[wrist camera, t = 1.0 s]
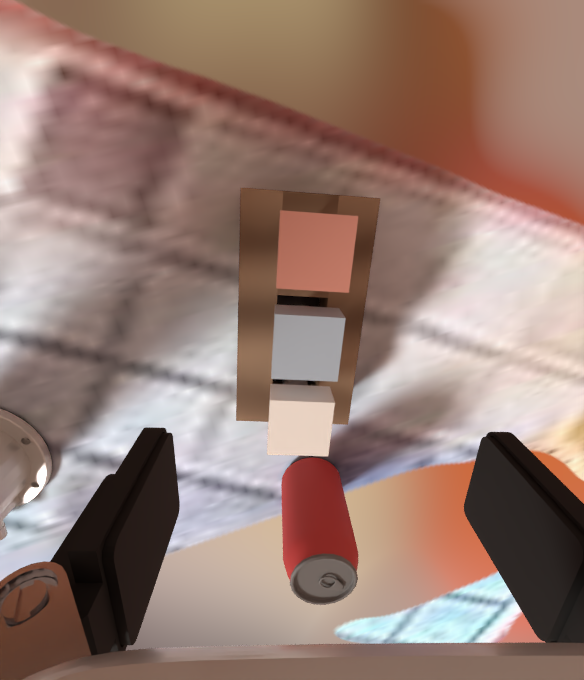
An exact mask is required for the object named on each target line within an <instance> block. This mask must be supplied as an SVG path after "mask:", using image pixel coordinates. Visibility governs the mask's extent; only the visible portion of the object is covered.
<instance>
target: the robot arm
mask: <svg viewBox="0 0 584 680" xmlns="http://www.w3.org/2000/svg"><path fill="white" fill-rule="evenodd" d="M51 472H52V460H51V455H50V452H49V450H48V447H47V445H46V443H45V442H44V440H43V439H42V437H41V436H40V435H39V434H38V433H37V432H36V431H35V430H34V428H33V427H32V426H30V425H29V424H28V423H26V422H25V421H24V420H22V419H21V418H19V417H17V416H16V415H14V414H12V413H10V412H8V411H5V410H2V409H0V540H2V539H3V538H5V537H6V535H7V530H6V526H5V523H4V522H3V519H4V518H5V517H6V516H7V514H8V513H9V512H10V511H11V510H12V509H13V508H14V507H18V506H21V505H23V504H25V503H28V502H30V501H31V500H32V499H34V498H35V497H36V496H37V495H38V494H39V493H40V492H41V491H42V490H43V488H44V487H45V486H46V484H47V483H48V481H49V479H50V476H51ZM464 511H465V515H466V517H467V519H468V521H469V522H470V524H471V526H472V528H473V529H474V531H475V533H476V534H477V536H478V538H479V539H480V541H481V543H482V544H483V546H484V548H485V549H486V551H487V553H488V554H489V556H490V558H491V560H492V561H493V563H494V565H495V566H496V568H497V570H498V571H499V573H500V575H501V576H502V578H503V580H504V582H505V583H506V585H507V587H508V588H509V590H510V592H511V593H512V595H513V597H514V598H515V600H516V602H517V603H518V605H519V607H520V609H521V610H522V612H523V614H524V615H525V617H526V618H527V620H528V622H529V624H530V625H531V627H532V629H533V630H534V632H535V634H536V635H537V636H538V638H539V639H541V640H542V641H545V642H546V643H393V644H310V645H309V644H308V645H247V646H204V647H177V648H151V649H139V650H127V651H125V650H126V647H127V645H133V644H134V643H135V641H136V639H137V636H138V633H139V630H140V628H141V624H142V622H143V619H144V615H145V613H146V610H147V607H148V603H149V600H150V598H151V595H152V592H153V589H154V586H155V583H156V580H157V577H158V574H159V571H160V568H161V565H162V562H163V559H164V556H165V553H166V550H167V547H168V544H169V541H170V538H171V535H172V532H173V529H174V526H175V523H176V520H177V517H178V513H179V493H178V483H177V474H176V464H175V454H174V444H173V436H172V433H167V432H166V429H165V428H144V429H143V430H142V432H141V433H140V435H139V437H138V438H137V440H136V441H135V443H134V445H133V446H132V448H131V450H130V451H129V453H128V454H127V456H126V458H125V459H124V461H123V462H122V464H121V466H120V467H119V469H118V470H117V472H116V474H110V475H108V476H106V478H105V479H104V480H103V482H102V483H101V485H100V486H99V488H98V489H97V491H96V492H95V494H94V495H93V497H92V498H91V500H90V501H89V503H88V505H87V506H86V508H85V509H84V511H83V512H82V514H81V515H80V517H79V518H78V520H77V521H76V523H75V524H74V526H73V528H72V529H71V531H70V532H69V534H68V535H67V537H66V538H65V540H64V541H63V543H62V544H61V546H60V547H59V549H58V551H57V552H56V554H55V555H54V557H53V558H52V560H51V561H50V562H39V563H34V564H30V565H28V566H25V567H23V568H20V569H18V570H17V571H15V572H13V573H12V574H10V575H8V576H7V577H5V578H4V579H3V580H2V581H1V582H0V680H584V504H583V503H582V502H581V501H580V500H579V499H578V498H577V497H576V496H575V495H574V494H573V493H572V492H571V491H570V490H569V489H568V488H567V487H566V486H565V485H564V484H563V483H562V482H561V481H560V480H559V479H558V478H557V477H556V476H555V475H554V474H553V473H552V472H551V471H550V470H549V469H548V468H547V467H546V466H545V465H544V464H542V463H541V461H540V460H538V458H537V457H536V456H535V455H533V453H532V452H531V451H530V450H529V449H528V448H527V447H525V446H524V445H523V444H522V443H521V442H520V441H519V440H518V439H517V438H516V437H515V436H514V435H513V434H512V433H509V432H489V433H488V434H487V435H486V437H483V438H482V440H481V442H480V446H479V450H478V454H477V458H476V461H475V465H474V469H473V473H472V477H471V481H470V485H469V488H468V492H467V496H466V499H465V504H464Z"/></svg>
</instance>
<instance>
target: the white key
mask: <svg viewBox="0 0 584 680" xmlns="http://www.w3.org/2000/svg"><path fill="white" fill-rule="evenodd" d="M282 383H283V384H271V385H270V403H269V421H268V442H267V455H298V456H328V454H329V446H330V438H331V430H332V422H333V414H334V406H335V401H334V398H333V395H332V392H331V388H330V386H309V385H308V382H307V380H287V379H283V380H282Z"/></svg>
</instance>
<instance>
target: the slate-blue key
mask: <svg viewBox="0 0 584 680" xmlns="http://www.w3.org/2000/svg"><path fill="white" fill-rule="evenodd" d="M345 319H346V318H345V316H344V315H343V313H342V312H341V310H340V309H339V308H328V307H311V306H307V305H305V304H296V305H294V306H293V305H276V304H275V312H274V330H273V348H272V369H271V379H287V380H310V381H333V382H338V375H339V367H340V359H341V351H342V343H343V335H344V327H345Z"/></svg>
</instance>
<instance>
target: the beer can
mask: <svg viewBox="0 0 584 680" xmlns="http://www.w3.org/2000/svg"><path fill="white" fill-rule="evenodd" d="M282 526H283V561H284V565H285V568H286V571H287V575H288V577H289V579H290V585H291V588H292V591H293V592H294V594H295V595H296V596H297V597H298V598H300V599H302V600H303V601H305V602H308V603H312V604H320V605H326V604H330V603H335V602H338V601H340V600H342V599H344V598H345V597H347V596H348V595H349V594H350V593H351V592H352V591H353V589H354V588H355V587H356V583H357V580H358V577H357V572H356V571H357V566H358V551H357V546H356V542H355V537H354V533H353V529H352V525H351V521H350V517H349V513H348V508H347V504H346V501H345V496H344V492H343V488H342V483H341V479H340V475H339V472H338V471H337V469H336V468H335V466H334V465H332V464H331V463H330V462H328V461H326V460H324V459H321V458H312V457H309V458H304V459H300V460H298V461H296V462H294V463H293V464H292V465H291V466H289V467H288V468H287V469H286V471H285V473H284V475H283V477H282Z"/></svg>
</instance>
